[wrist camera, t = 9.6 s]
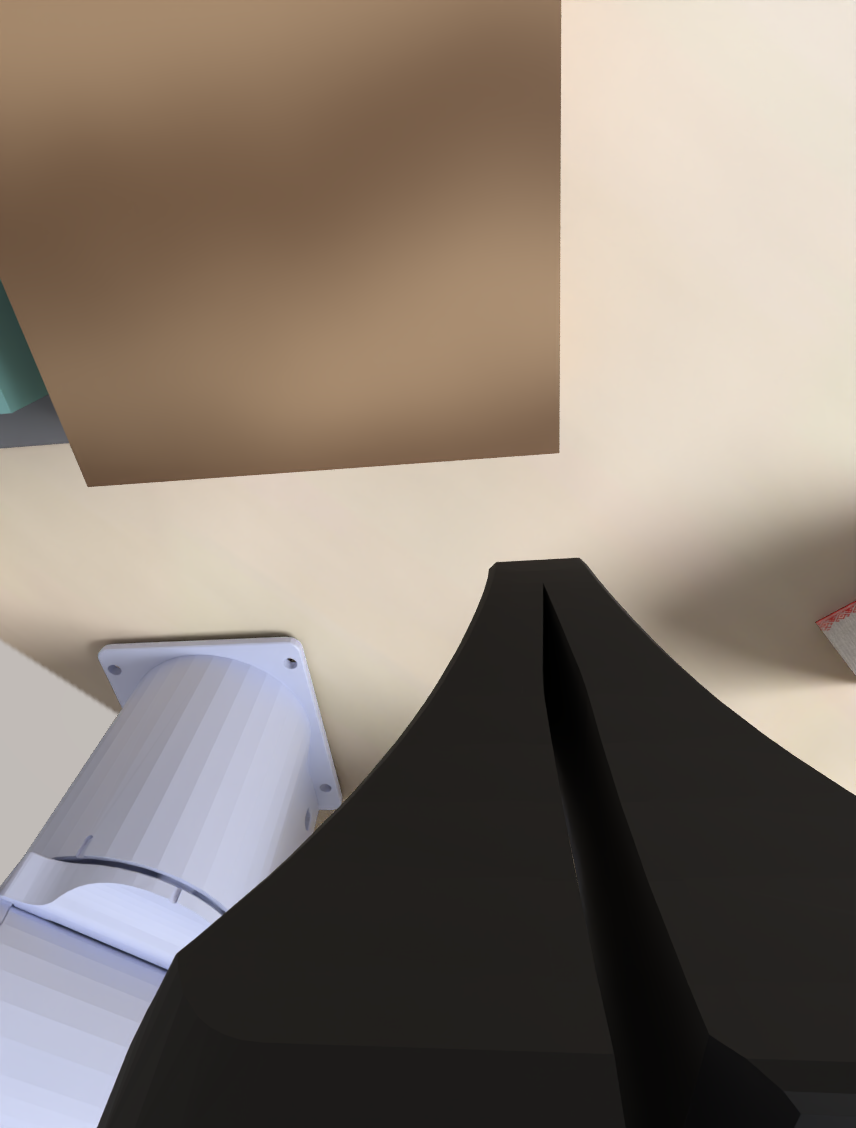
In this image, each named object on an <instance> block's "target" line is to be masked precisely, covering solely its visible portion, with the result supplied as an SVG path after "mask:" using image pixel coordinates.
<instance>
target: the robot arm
mask: <svg viewBox="0 0 856 1128" xmlns="http://www.w3.org/2000/svg"><path fill="white" fill-rule="evenodd" d="M287 658H291V659H294V660H295V661H296V662H291V661H289V660H288V659H287ZM98 659H99V662H100V664H101V666H102V668H103V670H104V672H105V674H106V676H107V678H108V680H109V682H110V684H111V686H112V688H113V690H114V692H115V694H116V697H117V699H118V701H119V703H120V705H121V707H122V709H121V711H120V712H119V714H118V715H117V717H116V718H115V720H114V721H113V723H112V724H111V726H110V728H109V729H108V731H107V732H106V733H105V735H104V736H103V738H102V740H101V741H100V743H99V744H98V746H97V747H96V749H95V750H94V752H93V753H92V755H91V756H90V758H89V759H88V761H87V762H86V764H85V765H84V767H83V768H82V770H81V771H80V773H79V774H78V776H77V777H76V779H75V780H74V782H73V783H72V785H71V786H70V788H69V789H68V791H67V792H66V794H65V795H64V797H63V798H62V800H61V801H60V803H59V804H58V806H57V807H56V809H55V810H54V812H53V813H52V815H51V816H50V818H49V819H48V821H47V822H46V824H45V825H44V827H43V828H42V830H41V831H40V833H39V834H38V836H37V837H36V839H35V840H34V842H33V843H32V845H31V847H30V848H29V849H28V851H27V852H26V854H25V855H24V857H23V858H22V859H21V861H20V862H19V863H18V864H17V866H16V867H15V868H14V870H13V871H12V872H11V873H10V875H9V876H8V877H7V878H6V880H5V881H4V882H3V883H2V885H1V886H0V1128H856V796H855V795H854V794H852V793H851V792H849V791H847V790H846V789H844V788H843V787H841V786H840V785H838V784H837V783H835V782H834V781H832V780H831V779H829V778H828V777H826V776H824V775H823V774H821V773H820V772H818V771H817V770H815V769H814V768H812V767H811V766H809V765H808V764H806V763H805V762H803V761H801V760H800V759H798V758H797V757H795V756H794V755H792V754H791V753H790V752H788V751H787V750H785V749H784V748H782V747H781V746H780V745H778V744H777V743H775V742H774V741H772V740H771V739H770V738H768V737H767V736H765V735H764V734H763V733H761V732H760V731H759V730H757V729H756V728H755V727H753V726H752V725H751V724H749V723H748V722H747V721H746V720H744V719H743V718H742V717H740V716H739V715H738V714H736V713H735V712H734V711H732V710H731V709H730V708H729V707H727V706H726V705H725V704H723V703H722V702H721V701H720V700H718V699H717V698H716V697H715V696H714V695H712V694H711V693H710V692H709V691H708V690H707V689H705V688H704V687H703V686H702V685H701V684H700V683H698V682H697V681H696V680H695V679H694V678H693V677H692V676H691V675H690V674H688V673H687V672H686V671H685V670H684V669H683V668H682V667H681V666H680V665H679V664H677V663H676V662H675V661H674V660H673V659H672V658H671V657H670V656H669V655H668V654H667V653H666V652H665V651H664V650H663V649H662V648H661V647H660V646H659V645H658V644H657V643H656V642H655V641H654V640H653V639H652V638H651V637H650V636H649V635H648V634H647V633H646V632H645V631H644V630H643V629H642V628H641V627H640V626H639V625H638V624H637V623H636V622H635V621H634V620H633V619H632V618H631V616H630V615H629V614H628V613H627V612H626V611H625V610H624V609H623V608H622V607H621V605H620V604H619V603H618V602H617V601H616V600H615V599H614V597H613V596H612V595H611V594H610V593H609V592H608V590H607V589H606V588H605V587H604V586H603V584H602V583H601V582H600V581H599V580H598V578H597V577H596V576H595V575H594V573H593V572H592V571H591V570H590V568H589V567H588V566H587V564H586V563H584V562H583V561H582V560H581V559H580V558H567V559H548V560H529V561H511V562H496V563H495V564H494V565H493V566H492V567H491V568H490V569H489V574H488V579H487V582H486V586H485V589H484V592H483V595H482V598H481V600H480V602H479V605H478V607H477V610H476V612H475V615H474V617H473V619H472V621H471V623H470V625H469V627H468V629H467V631H466V633H465V635H464V637H463V639H462V641H461V643H460V645H459V647H458V649H457V651H456V653H455V654H454V656H453V658H452V659H451V661H450V663H449V664H448V666H447V668H446V669H445V671H444V673H443V675H442V676H441V678H440V680H439V681H438V683H437V685H436V686H435V688H434V689H433V691H432V693H431V694H430V696H429V697H428V699H427V700H426V702H425V703H424V705H423V706H422V707H421V709H420V710H419V712H418V713H417V715H416V716H415V717H414V719H413V720H412V721H411V723H410V724H409V725H408V727H407V728H406V729H405V731H404V732H403V733H402V735H401V736H400V737H399V739H398V740H397V741H396V743H395V744H394V745H393V746H392V747H391V749H390V750H389V751H388V752H387V753H386V755H385V756H384V757H383V758H382V759H381V761H380V762H379V763H378V764H377V765H376V767H375V768H374V769H373V770H372V771H371V773H370V774H369V775H368V776H367V777H366V778H365V780H364V781H363V782H362V783H361V784H360V785H359V786H358V787H357V789H356V790H355V791H354V792H353V793H352V794H351V795H350V796H349V797H348V798H347V799H346V801H345V802H344V803H343V804H342V805H341V803H342V793H341V789H340V785H339V782H338V778H337V774H336V770H335V767H334V763H333V759H332V755H331V751H330V748H329V744H328V740H327V736H326V733H325V729H324V725H323V721H322V718H321V714H320V710H319V706H318V702H317V699H316V695H315V691H314V687H313V684H312V680H311V676H310V672H309V669H308V665H307V661H306V657H305V653H304V650H303V646H302V644H301V643H300V642H299V641H298V640H297V639H295V638H292V637H269V638H245V639H221V640H197V641H173V642H149V643H125V644H108V645H105V646H104V647H103V648H102V649H101V650H100V652H99V653H98ZM115 665H116V666H118V667H120V668H118V667H116V666H115ZM327 784H328V785H327ZM337 808H338V809H337ZM334 809H337V810H336V811H335V812H334V813H333V814H332V815H331V816H330V817H329V818H328V819H327V820H326V821H325V822H324V823H323V824H322V825H321V826H320V827H319V828H318V829H317V830H316V831H315V832H314V828H315V824H316V820H317V816H318V812H319V810H334ZM313 832H314V833H313ZM569 840H570V842H569ZM570 845H571V847H570ZM571 850H572V852H571ZM572 854H573V857H572ZM573 859H574V863H573ZM574 864H575V868H574ZM575 870H576V873H575ZM576 875H577V878H576ZM577 881H578V883H577ZM578 887H579V888H578Z"/></svg>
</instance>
